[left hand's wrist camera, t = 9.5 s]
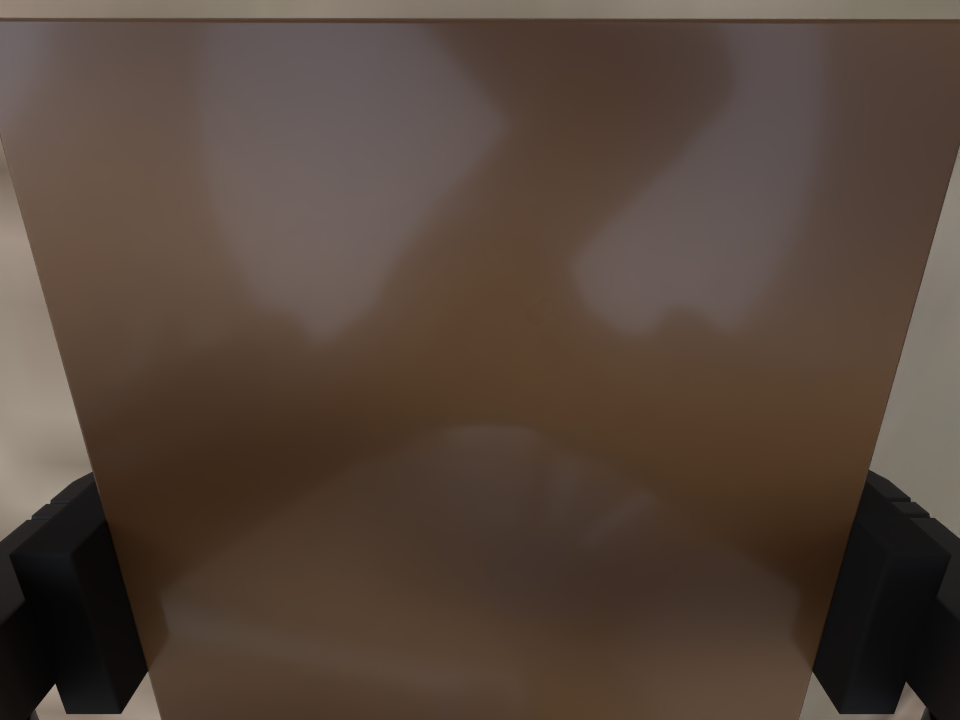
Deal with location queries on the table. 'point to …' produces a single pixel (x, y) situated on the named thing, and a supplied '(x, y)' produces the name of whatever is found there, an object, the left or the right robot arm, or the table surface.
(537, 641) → the narrow beam
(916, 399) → the table surface
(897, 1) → the table surface
